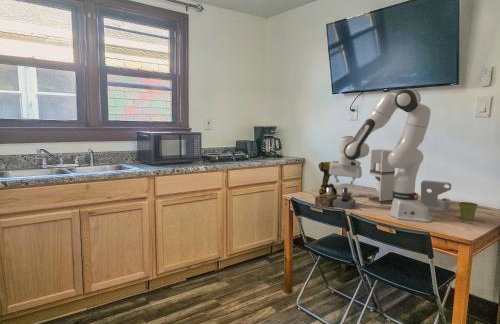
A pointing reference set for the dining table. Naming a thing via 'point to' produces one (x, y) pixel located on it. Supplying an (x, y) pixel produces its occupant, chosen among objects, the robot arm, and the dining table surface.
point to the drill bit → (344, 194)
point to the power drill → (326, 179)
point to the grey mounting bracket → (435, 195)
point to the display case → (382, 175)
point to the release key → (349, 194)
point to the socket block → (344, 203)
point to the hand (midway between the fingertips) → (344, 183)
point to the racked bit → (328, 191)
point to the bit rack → (325, 200)
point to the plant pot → (467, 210)
